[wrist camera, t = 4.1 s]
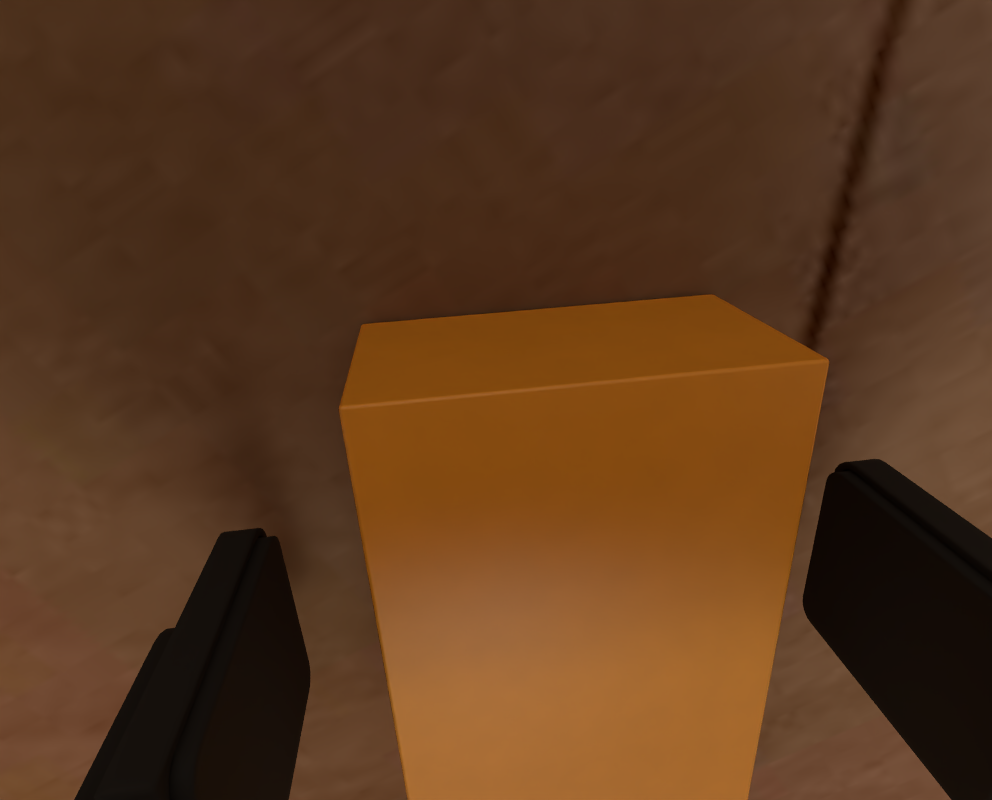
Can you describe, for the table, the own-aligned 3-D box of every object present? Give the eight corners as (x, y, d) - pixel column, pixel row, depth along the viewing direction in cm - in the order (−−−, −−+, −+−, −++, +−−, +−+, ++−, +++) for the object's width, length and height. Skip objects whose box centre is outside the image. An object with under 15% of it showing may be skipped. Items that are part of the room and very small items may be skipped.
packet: (360, 323, 9) (337, 407, 6) (714, 293, 10) (832, 359, 7) (417, 700, 12) (417, 861, 10) (677, 664, 13) (747, 806, 10)
